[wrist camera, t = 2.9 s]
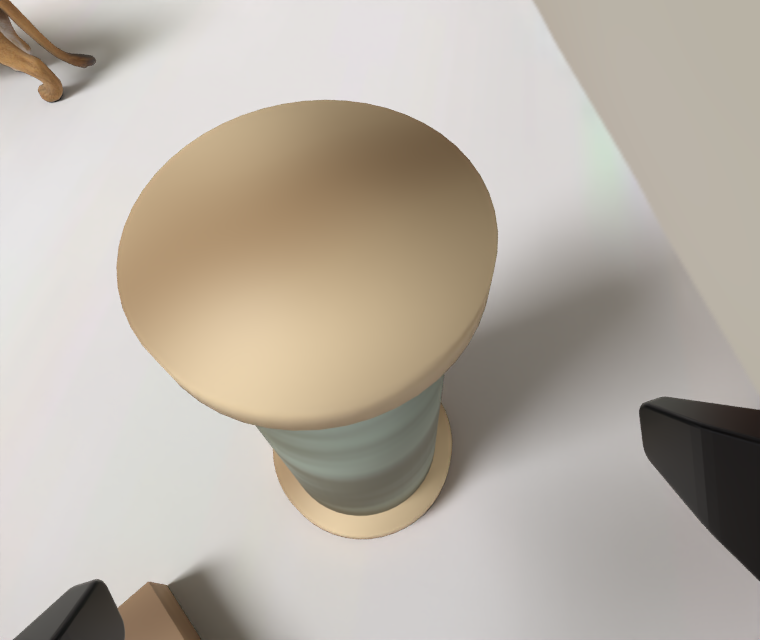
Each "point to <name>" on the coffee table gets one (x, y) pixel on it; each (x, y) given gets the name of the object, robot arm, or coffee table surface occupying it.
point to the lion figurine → (16, 53)
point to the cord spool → (319, 296)
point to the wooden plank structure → (155, 615)
